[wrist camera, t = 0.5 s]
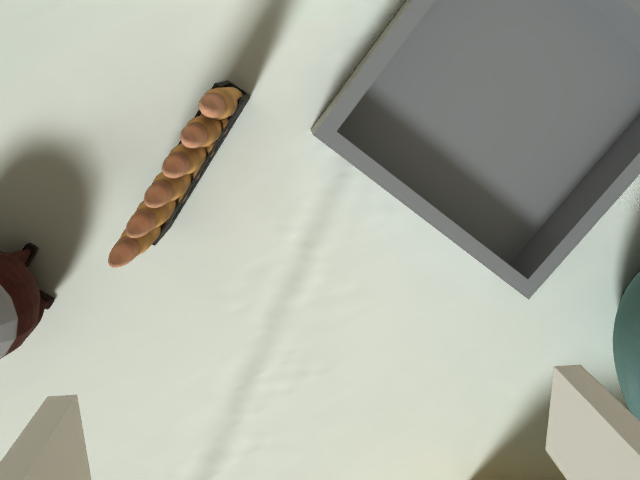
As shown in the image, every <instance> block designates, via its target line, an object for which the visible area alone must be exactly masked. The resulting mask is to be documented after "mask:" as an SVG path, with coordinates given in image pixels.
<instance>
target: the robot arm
mask: <svg viewBox="0 0 640 480" xmlns="http://www.w3.org/2000/svg"><path fill="white" fill-rule="evenodd" d="M545 450H546V451H547V453H548V454H549V456H550V457H551V458H552V460H553V461H554V463H555V464H556V465H557V467H558V468H559V470H560V471H561V472H562V474H563V475H564V477H565V478H566V479H567V480H640V421H639V420H638V419H637V418H636V417H635V416H634V415H633V414H632V413H631V412H630V411H629V410H627V409H626V408H625V407H624V406H623V405H622V404H621V403H620V402H619V401H618V400H617V399H616V398H615V397H614V396H613V395H612V394H611V393H610V392H608V391H607V390H606V389H605V388H604V387H603V386H602V385H601V384H600V383H599V382H598V381H597V380H596V379H595V378H594V377H593V376H592V375H591V374H590V373H588V372H587V371H586V370H585V369H584V368H583V367H582V366H581V365H570V366H554V372H553V382H552V391H551V401H550V410H549V419H548V429H547V438H546V448H545ZM0 480H91V475H90V469H89V463H88V457H87V451H86V445H85V439H84V434H83V428H82V422H81V416H80V410H79V404H78V398H77V395H67V396H50V397H47V398H46V399H45V401H44V402H43V404H42V405H41V406H40V408H39V409H38V411H37V412H36V413H35V415H34V416H33V418H32V419H31V420H30V422H29V423H28V425H27V426H26V427H25V429H24V430H23V431H22V433H21V434H20V436H19V437H18V438H17V440H16V441H15V443H14V444H13V445H12V447H11V448H10V450H9V451H8V452H7V454H6V455H5V457H4V458H3V459H2V461H1V462H0Z"/></svg>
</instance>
